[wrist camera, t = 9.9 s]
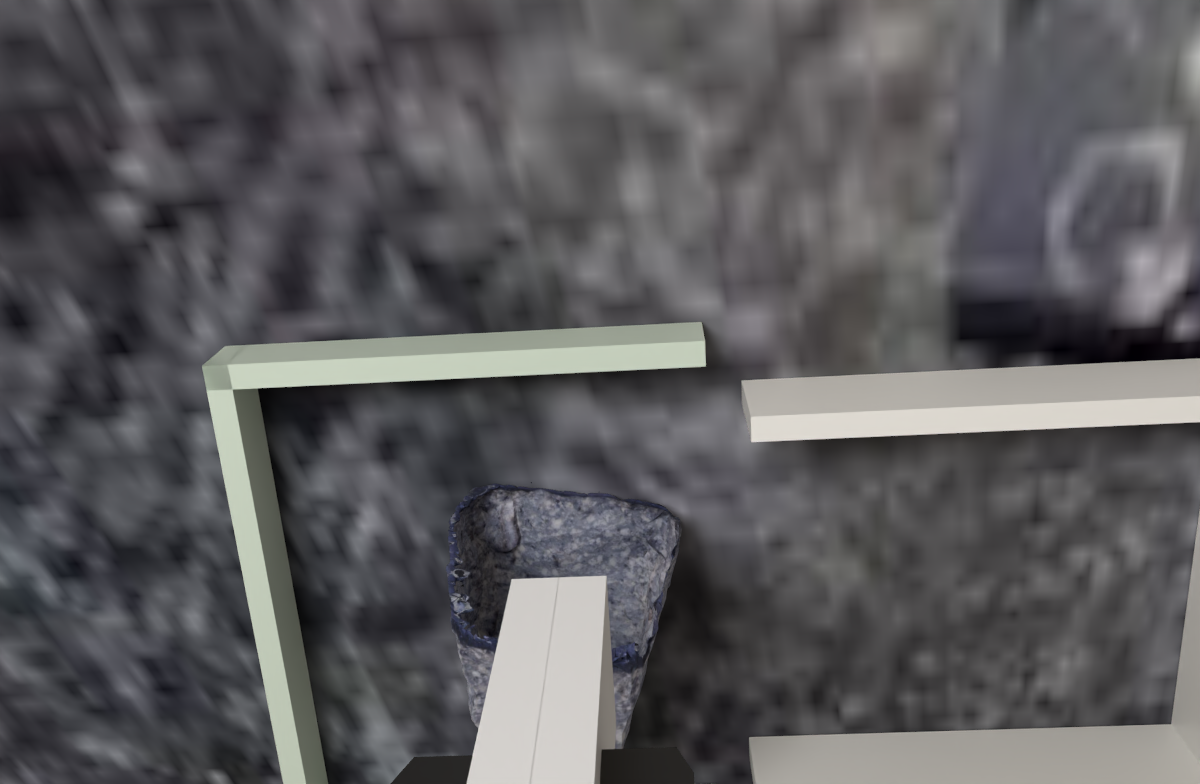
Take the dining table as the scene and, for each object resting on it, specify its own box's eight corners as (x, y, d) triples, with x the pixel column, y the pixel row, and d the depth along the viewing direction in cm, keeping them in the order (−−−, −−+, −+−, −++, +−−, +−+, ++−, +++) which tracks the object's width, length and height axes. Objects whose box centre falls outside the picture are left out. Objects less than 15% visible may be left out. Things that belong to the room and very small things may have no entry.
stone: (499, 419, 47) (727, 480, 44) (495, 597, 52) (699, 661, 49) (346, 590, 37) (627, 683, 34) (360, 788, 42) (605, 882, 39)
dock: (749, 755, 50) (757, 817, 46) (741, 380, 44) (750, 416, 40) (1191, 742, 49) (1237, 804, 45) (1246, 356, 43) (1304, 391, 39)
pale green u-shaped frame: (312, 812, 52) (296, 851, 49) (225, 346, 44) (201, 366, 42) (717, 801, 51) (721, 840, 48) (701, 321, 43) (704, 340, 41)
